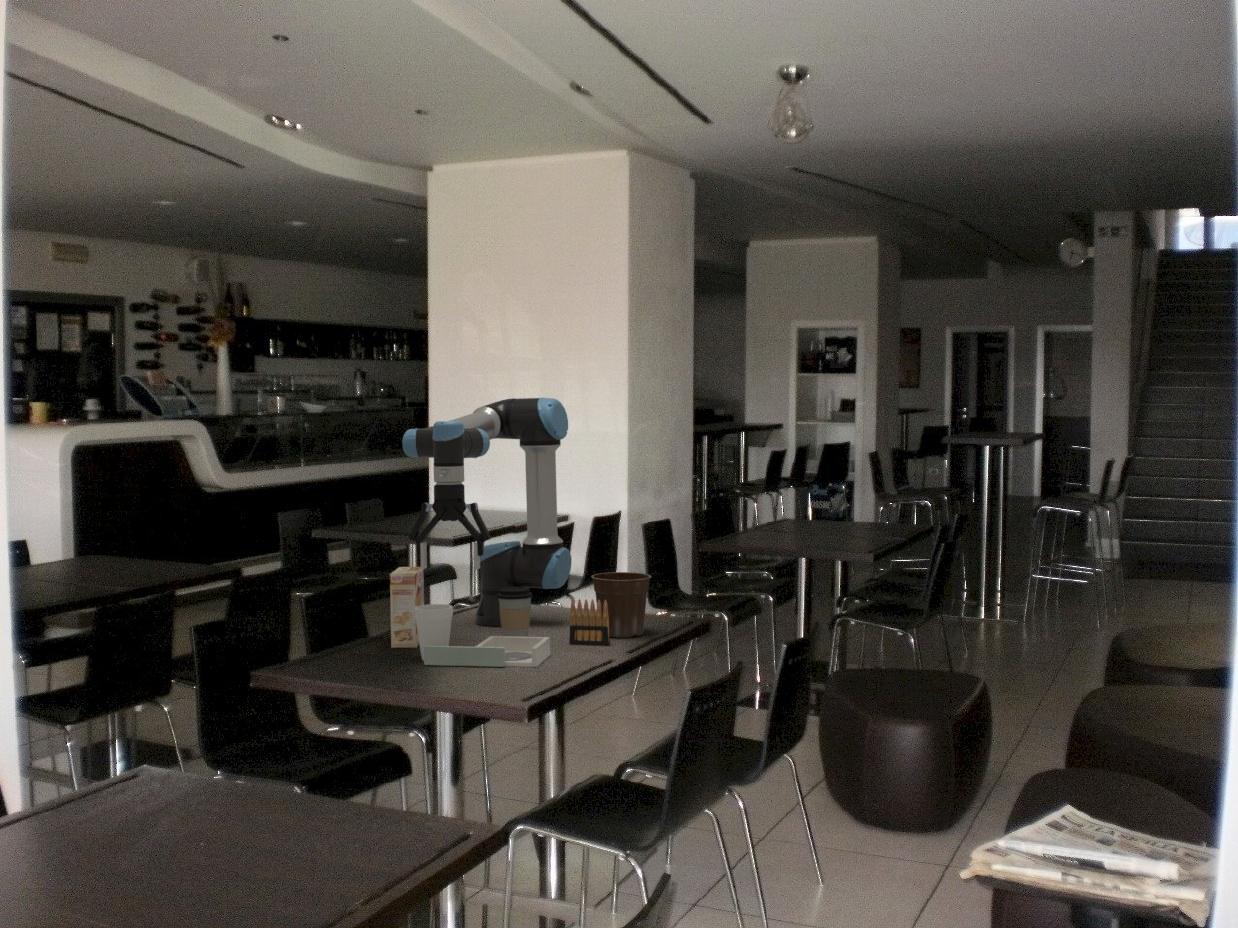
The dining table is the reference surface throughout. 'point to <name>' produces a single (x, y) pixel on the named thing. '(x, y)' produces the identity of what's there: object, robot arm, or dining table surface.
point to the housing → (521, 649)
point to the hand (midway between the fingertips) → (450, 569)
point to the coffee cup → (515, 610)
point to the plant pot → (623, 601)
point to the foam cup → (433, 625)
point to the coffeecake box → (405, 605)
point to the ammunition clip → (589, 625)
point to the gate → (464, 656)
